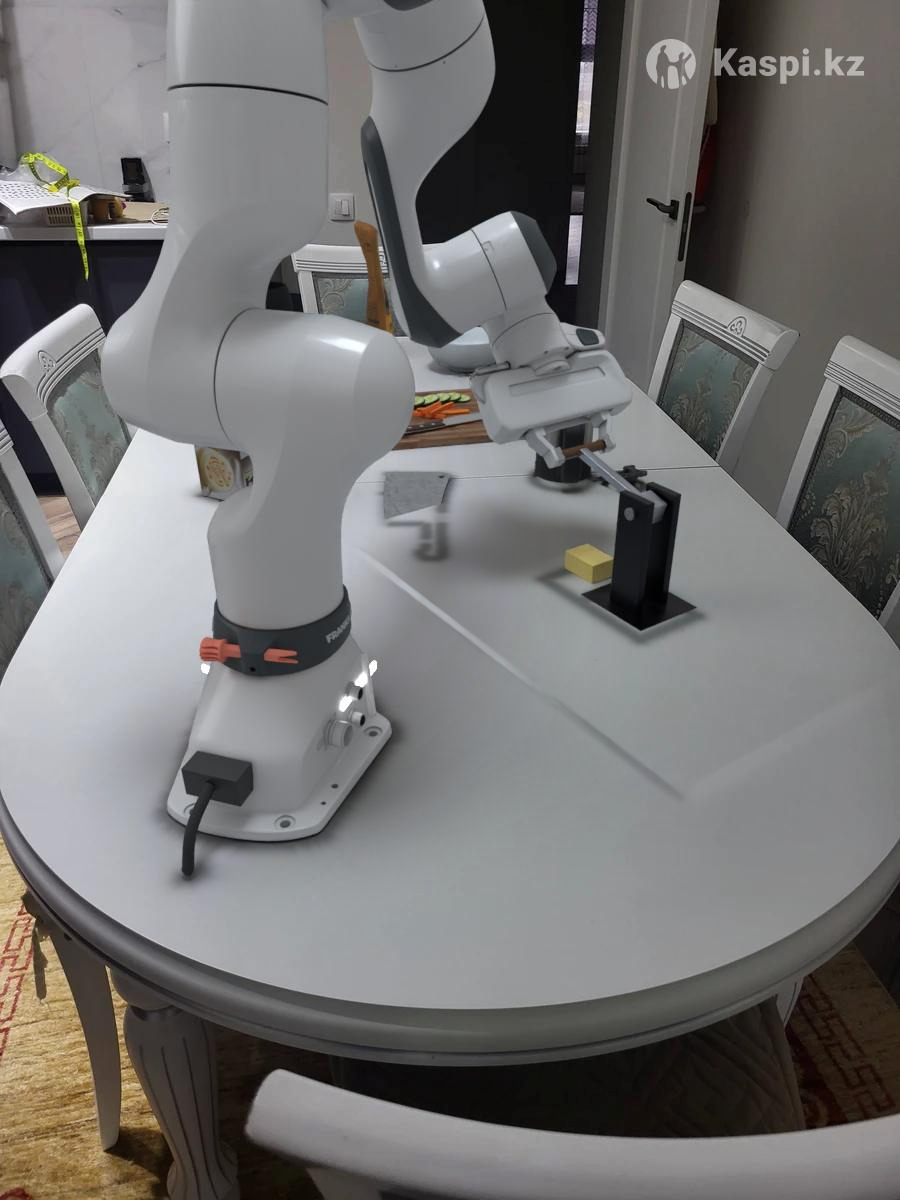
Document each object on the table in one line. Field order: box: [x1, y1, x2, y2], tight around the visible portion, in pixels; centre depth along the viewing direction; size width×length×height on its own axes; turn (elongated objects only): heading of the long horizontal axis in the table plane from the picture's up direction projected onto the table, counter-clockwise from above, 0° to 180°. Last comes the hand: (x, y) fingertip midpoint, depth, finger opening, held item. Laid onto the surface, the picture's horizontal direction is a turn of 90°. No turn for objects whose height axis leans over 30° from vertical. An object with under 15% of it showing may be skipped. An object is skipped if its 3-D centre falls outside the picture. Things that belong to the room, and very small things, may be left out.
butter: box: [564, 543, 614, 585], centre depth 109 cm, size 5×4×3 cm
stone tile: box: [383, 471, 451, 520], centre depth 128 cm, size 29×1×10 cm
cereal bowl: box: [426, 326, 496, 373], centre depth 192 cm, size 17×17×7 cm
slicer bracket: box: [580, 481, 698, 632], centre depth 101 cm, size 10×9×15 cm
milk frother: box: [532, 422, 648, 484], centre depth 134 cm, size 14×16×15 cm
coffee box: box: [193, 445, 253, 501], centre depth 131 cm, size 9×6×16 cm
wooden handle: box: [353, 219, 395, 337], centre depth 198 cm, size 7×19×28 cm, turn 11°
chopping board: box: [391, 387, 526, 451], centre depth 163 cm, size 45×27×3 cm, turn 102°
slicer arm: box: [562, 439, 667, 524], centre depth 101 cm, size 14×6×2 cm, turn 34°
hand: (584, 457), depth 104 cm, fingers closed on slicer arm, 6 cm apart
